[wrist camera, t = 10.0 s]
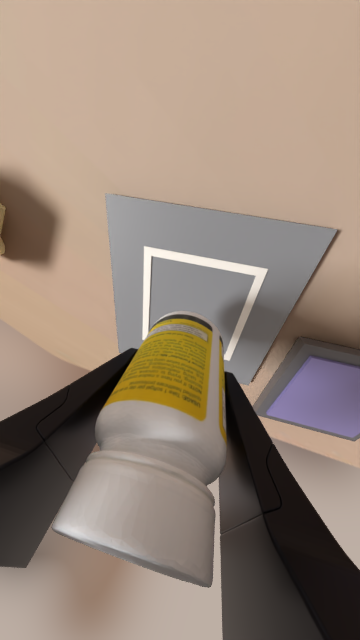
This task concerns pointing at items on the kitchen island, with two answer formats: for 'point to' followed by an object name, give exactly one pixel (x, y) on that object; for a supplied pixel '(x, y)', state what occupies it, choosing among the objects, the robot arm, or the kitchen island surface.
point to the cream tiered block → (0, 218)
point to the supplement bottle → (157, 456)
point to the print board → (209, 273)
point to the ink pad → (316, 389)
